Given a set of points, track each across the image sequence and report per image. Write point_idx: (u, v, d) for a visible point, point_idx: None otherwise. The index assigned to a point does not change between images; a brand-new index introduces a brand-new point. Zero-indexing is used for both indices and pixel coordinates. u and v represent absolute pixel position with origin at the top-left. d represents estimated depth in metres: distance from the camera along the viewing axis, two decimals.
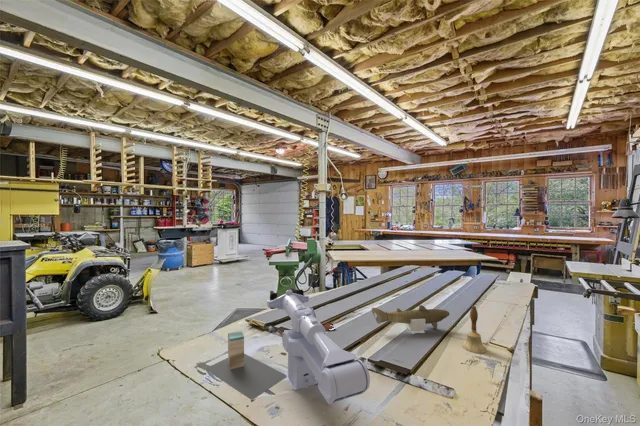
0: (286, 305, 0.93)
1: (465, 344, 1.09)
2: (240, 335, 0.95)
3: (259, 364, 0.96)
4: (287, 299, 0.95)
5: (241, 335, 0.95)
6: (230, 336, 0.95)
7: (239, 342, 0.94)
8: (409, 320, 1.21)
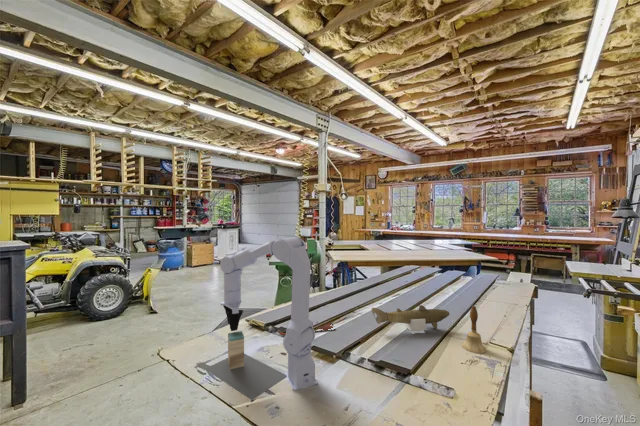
0: (224, 289, 1.01)
1: (465, 344, 1.09)
2: (240, 335, 0.95)
3: (259, 364, 0.96)
4: (226, 296, 1.00)
5: (241, 335, 0.95)
6: (230, 336, 0.95)
7: (239, 342, 0.94)
8: (409, 320, 1.21)
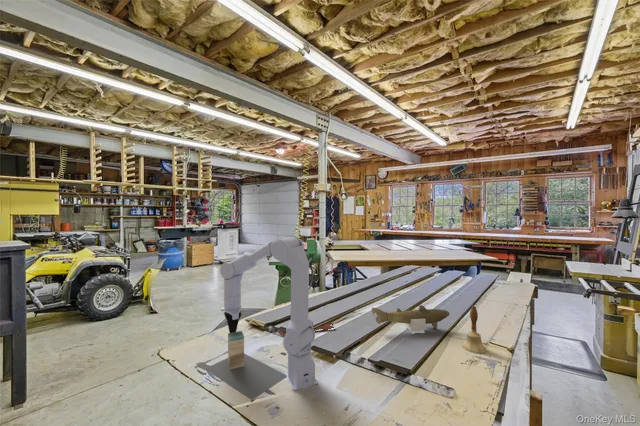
0: (224, 295, 1.01)
1: (465, 344, 1.09)
2: (240, 335, 0.95)
3: (259, 364, 0.96)
4: (226, 301, 1.00)
5: (241, 335, 0.95)
6: (230, 336, 0.95)
7: (239, 342, 0.94)
8: (409, 320, 1.21)
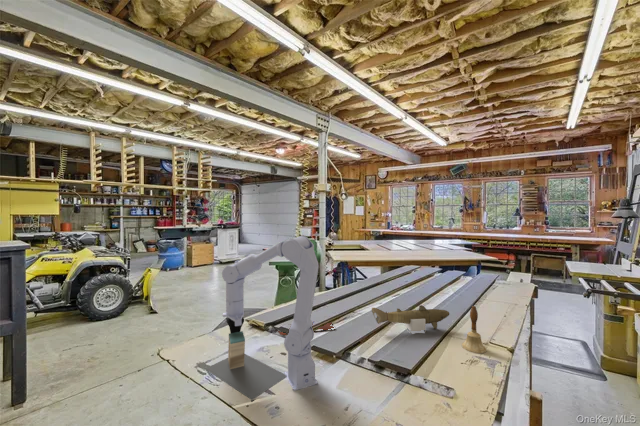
0: (227, 300, 0.95)
1: (465, 344, 1.09)
2: (241, 337, 0.94)
3: (259, 364, 0.96)
4: (228, 306, 0.95)
5: (242, 337, 0.94)
6: (231, 338, 0.93)
7: (240, 344, 0.93)
8: (409, 320, 1.21)
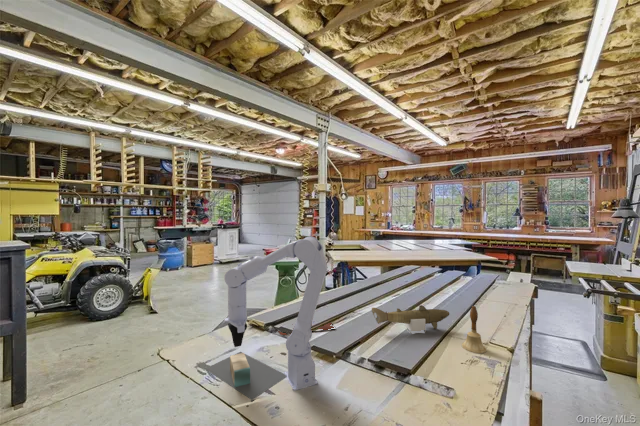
0: (230, 305, 0.90)
1: (465, 344, 1.09)
2: (246, 380, 0.86)
3: (259, 364, 0.96)
4: (230, 312, 0.90)
5: (248, 380, 0.86)
6: (236, 380, 0.84)
7: None
8: (409, 320, 1.21)
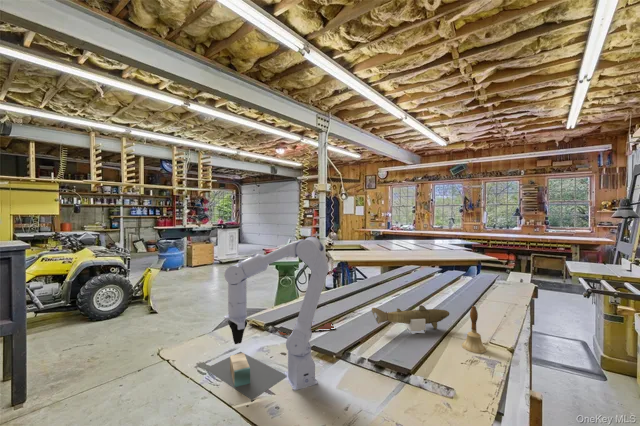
0: (230, 302, 0.90)
1: (465, 344, 1.09)
2: (246, 380, 0.86)
3: (259, 364, 0.96)
4: (230, 309, 0.90)
5: (248, 380, 0.86)
6: (236, 380, 0.84)
7: None
8: (409, 320, 1.21)
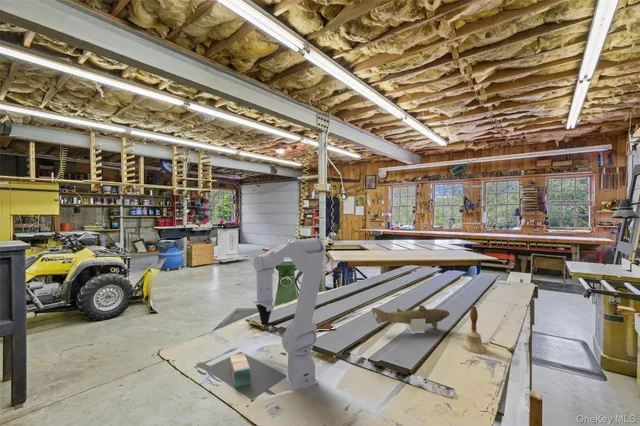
0: None
1: (465, 344, 1.09)
2: (246, 380, 0.86)
3: (259, 364, 0.96)
4: (259, 294, 1.02)
5: (248, 380, 0.86)
6: (236, 380, 0.84)
7: None
8: (409, 320, 1.21)
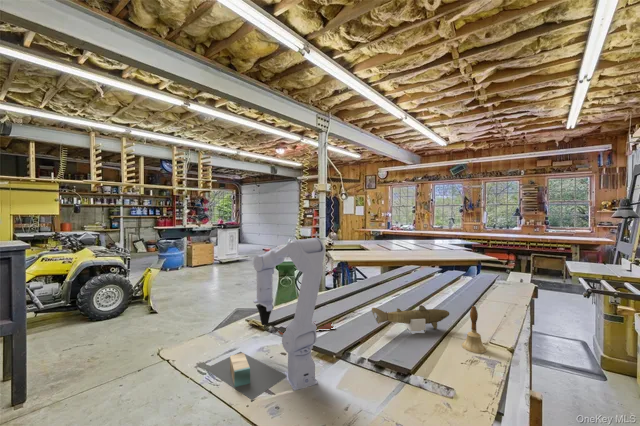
0: None
1: (465, 344, 1.09)
2: (246, 380, 0.86)
3: (259, 364, 0.96)
4: (259, 294, 1.02)
5: (248, 380, 0.86)
6: (236, 380, 0.84)
7: None
8: (409, 320, 1.21)
